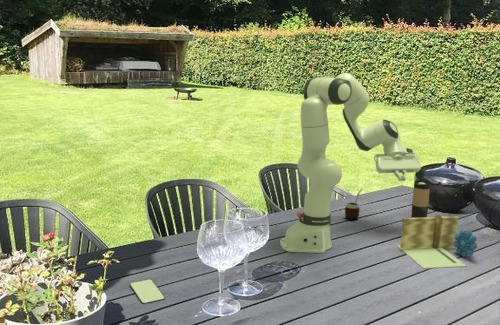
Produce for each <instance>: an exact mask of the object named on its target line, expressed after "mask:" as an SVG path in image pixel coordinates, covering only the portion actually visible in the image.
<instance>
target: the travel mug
mask: <svg viewBox="0 0 500 325" xmlns="http://www.w3.org/2000/svg"><path fill="white" fill-rule="evenodd" d="M430 190H431V182H430V181H426V180H414V183H413V190H412V191H413V192H412V200H411V201H412V203H411V217H410V218H419V217H428V210H429V202H430Z"/></svg>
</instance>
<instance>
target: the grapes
mask: <svg viewBox="0 0 500 325" xmlns="http://www.w3.org/2000/svg"><path fill="white" fill-rule="evenodd" d="M477 238H478V237H477V236H476V235H475V234H473V232H472V230H470V229H469V230H468V229H467V230H465V229H461V230H460V231H459V233H457V234H456V235H455V239H456V241H455V242H454V244H453V245H454V246H455V253H456V254H458V255H461V256H462V257H463V258H466V257H468V256H470V257H471V256H473V255H474V253H475V250H476V249H477V248H478V244H477V243H476V241H477Z"/></svg>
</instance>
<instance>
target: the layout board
mask: <svg viewBox="0 0 500 325" xmlns="http://www.w3.org/2000/svg"><path fill="white" fill-rule="evenodd" d="M396 246H397V247H398V249H400V250H401V251H402V252H403V253H404V254H406V255H407V256H408V257H409V258H410V259H411V260H412V261H414V263H417V265H419V266H420V267H421V268H422V269H423V270H425V269H426V270H427V269H445V268H449V269H450V268H466V267H467V265H466V264H465V263H463V262H462V261H461V260H460V259H458V258H457V257H455V256H454V255H453V254H451V253H450V252H448V251H447V250H446V249H443V248H438V249H434V248H432V247H426V248H403V249H401V248H400V244H397V245H396Z"/></svg>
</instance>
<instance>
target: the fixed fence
mask: <svg viewBox="0 0 500 325" xmlns="http://www.w3.org/2000/svg"><path fill="white" fill-rule="evenodd" d="M434 218H436V220H435V226H434V237H433V247H432V248H434V249H438V248H443V249H444V250H446V249H447V250H448V249H449V250H450V249H456V247H455V246H454V245H453V244H454V242H455V241H457V240H456V239H455V235H456V234H458V227H459V220H460V217H459V216H457V215H454V216H452V215H450V216H442V215H441V214H435V215H434Z"/></svg>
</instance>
